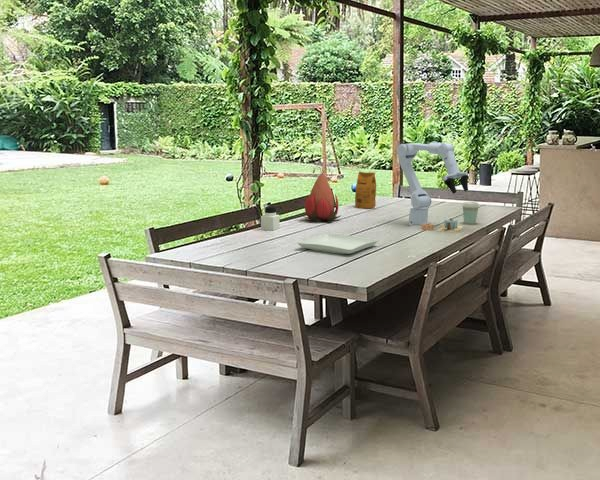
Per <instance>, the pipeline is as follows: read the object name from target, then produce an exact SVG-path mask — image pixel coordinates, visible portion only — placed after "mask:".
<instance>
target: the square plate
mask: <svg viewBox="0 0 600 480" xmlns="http://www.w3.org/2000/svg"><path fill="white" fill-rule="evenodd" d="M378 242H379V240H378V239H373V238H368V237H362V236H355V235H347V234H336V233H335V234H334V233H324V234H320V235H316V236H311V237H310V238H306V239H303V240H300V241H298V242H296V243H297V244H298V246H300V247H301V248H303V249H308V250H311V251H318V252H324V253H330V254H331V253H333V254H338V255H339V254H341V255H351V254H354V253H357V252H359V251H363V250H364V249H367V248H370V247H373V246H375V245H376V244H377V243H378Z"/></svg>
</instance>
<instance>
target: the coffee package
mask: <svg viewBox="0 0 600 480" xmlns="http://www.w3.org/2000/svg"><path fill="white" fill-rule="evenodd" d="M376 197H377V181H376V172H375V171H374V172H373V171H371V172H364V171H358V174H357V179H356V185H355V197H354V205H355V206H354V208H355V209H363V210H369V209H370V210H371V209H373V208H375V207H376V206H377V205H376V203H377V202H376Z"/></svg>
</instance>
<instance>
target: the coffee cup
mask: <svg viewBox="0 0 600 480" xmlns="http://www.w3.org/2000/svg"><path fill="white" fill-rule="evenodd" d="M479 207H480V205H479V203H478V202H474V201H464V202H463V203H462V216H463V224H464V225H470V226H472V225H473V226H474V225H476V223H477V219H478V218H477V217H478V212H479Z"/></svg>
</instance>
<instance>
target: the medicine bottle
mask: <svg viewBox="0 0 600 480" xmlns="http://www.w3.org/2000/svg"><path fill="white" fill-rule="evenodd" d="M263 209H264V212H263V213H264V214H263V215H261V216H260V230H262V231H271V232H273V231H277V230H279V229H280V227H281V226H280V225H281V224H280V214H277V207H276V206H275V205H271V204H270V205H266V206H264V208H263Z"/></svg>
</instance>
